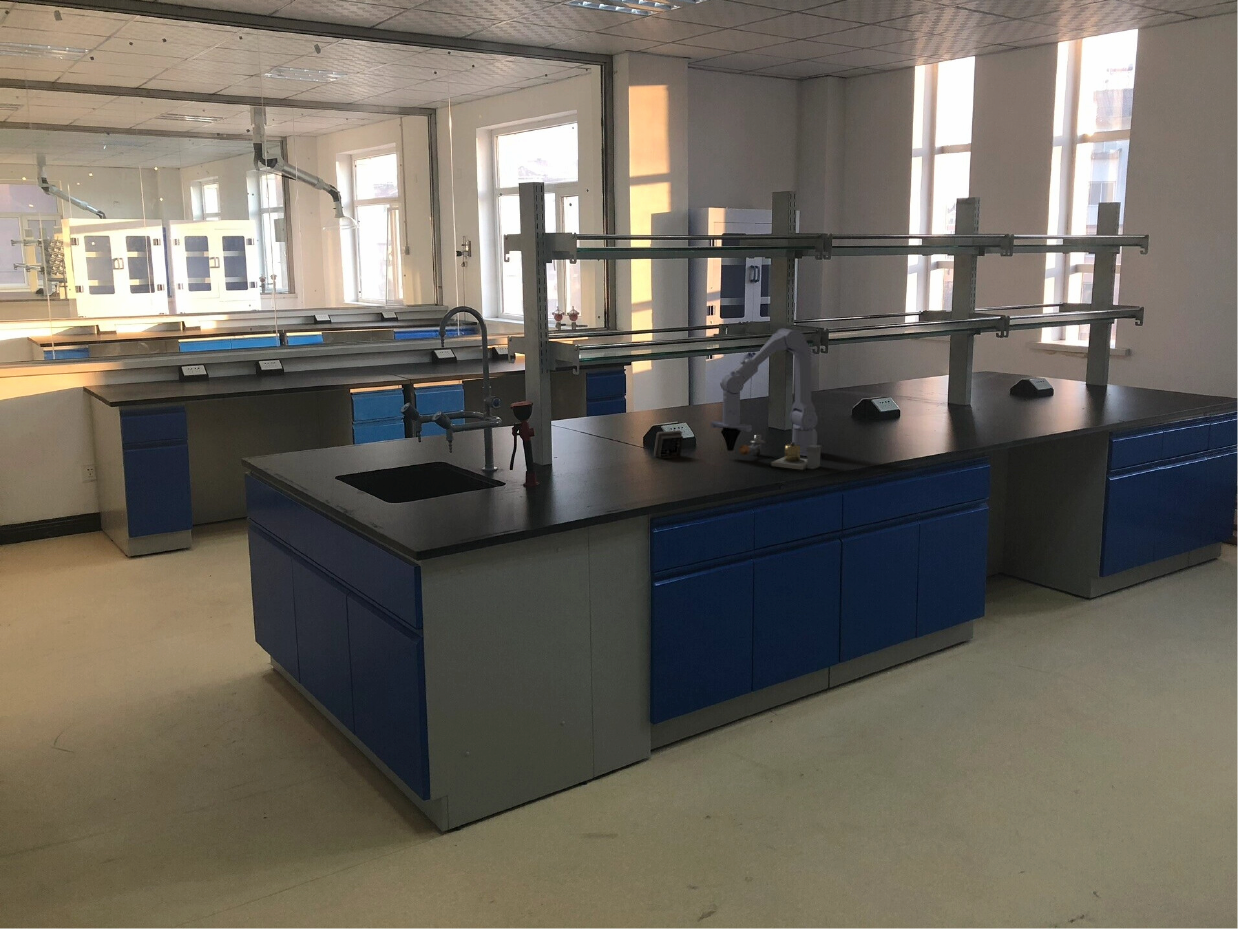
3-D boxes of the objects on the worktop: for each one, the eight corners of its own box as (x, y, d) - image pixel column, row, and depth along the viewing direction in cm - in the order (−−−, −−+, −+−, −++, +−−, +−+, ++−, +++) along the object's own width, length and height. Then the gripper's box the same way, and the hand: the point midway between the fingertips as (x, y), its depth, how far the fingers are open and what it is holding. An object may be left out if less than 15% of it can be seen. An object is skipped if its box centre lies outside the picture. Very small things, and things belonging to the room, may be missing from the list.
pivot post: (753, 453, 355) (754, 433, 354) (766, 454, 352) (767, 434, 351) (747, 455, 351) (747, 435, 349) (760, 457, 348) (761, 437, 347)
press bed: (785, 459, 344) (786, 439, 342) (824, 464, 336) (825, 443, 335) (771, 465, 335) (771, 444, 333) (811, 470, 327) (812, 449, 326)
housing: (787, 458, 340) (787, 440, 338) (801, 459, 337) (802, 441, 336) (782, 461, 335) (783, 443, 334) (797, 462, 333) (797, 444, 332)
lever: (750, 450, 351) (750, 440, 350) (759, 451, 349) (760, 441, 348) (736, 455, 343) (737, 445, 342) (746, 456, 341) (746, 446, 340)
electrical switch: (677, 454, 353) (678, 428, 351) (684, 458, 349) (685, 432, 346) (653, 457, 350) (654, 430, 347) (659, 461, 345) (660, 434, 343)
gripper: (706, 410, 344) (706, 449, 346) (745, 414, 336) (744, 454, 339) (716, 407, 349) (716, 446, 352) (754, 411, 341) (753, 451, 344)
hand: (730, 450), depth 346 cm, fingers closed
